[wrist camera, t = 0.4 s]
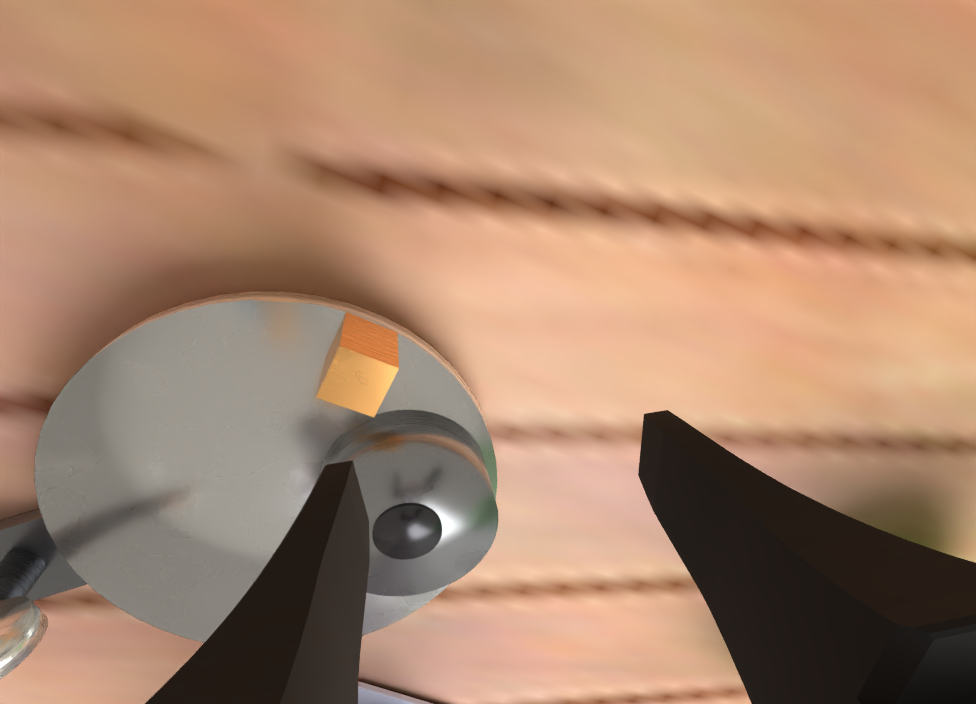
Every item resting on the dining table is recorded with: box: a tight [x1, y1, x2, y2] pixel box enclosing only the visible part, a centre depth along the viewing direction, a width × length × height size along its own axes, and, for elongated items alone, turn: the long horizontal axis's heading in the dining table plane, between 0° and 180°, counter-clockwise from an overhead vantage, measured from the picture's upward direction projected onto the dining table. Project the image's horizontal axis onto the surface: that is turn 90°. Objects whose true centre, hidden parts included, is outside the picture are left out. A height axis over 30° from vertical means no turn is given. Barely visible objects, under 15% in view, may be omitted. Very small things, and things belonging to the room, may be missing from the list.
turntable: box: [34, 291, 497, 643], centre depth 21 cm, size 18×18×4 cm
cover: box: [320, 410, 498, 596], centre depth 21 cm, size 7×7×3 cm
